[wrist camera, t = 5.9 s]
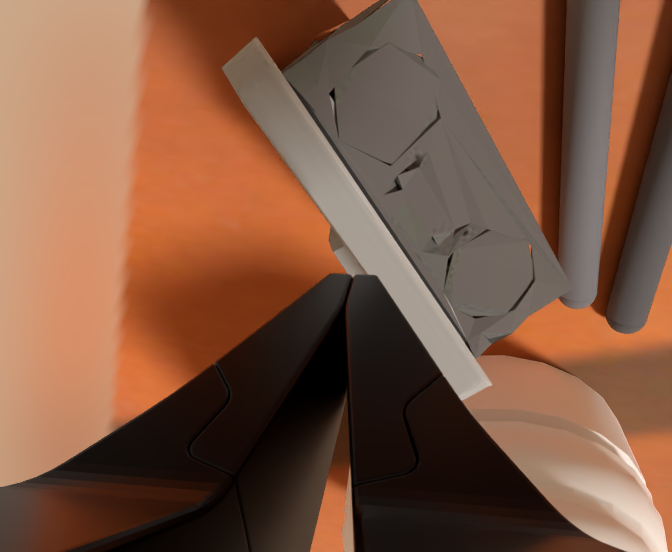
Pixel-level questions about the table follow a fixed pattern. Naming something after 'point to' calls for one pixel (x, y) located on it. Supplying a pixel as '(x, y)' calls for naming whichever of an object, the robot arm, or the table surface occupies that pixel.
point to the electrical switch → (406, 180)
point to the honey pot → (563, 452)
